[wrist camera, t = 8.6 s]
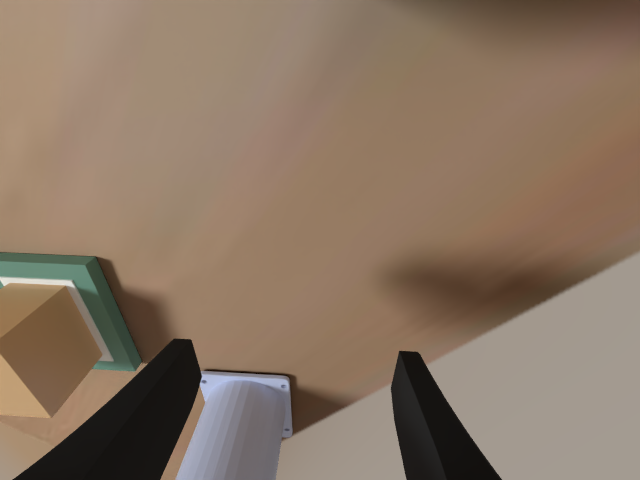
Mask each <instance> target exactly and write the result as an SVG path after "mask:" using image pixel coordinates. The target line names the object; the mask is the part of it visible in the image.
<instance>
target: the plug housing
mask: <svg viewBox="0 0 640 480" xmlns="http://www.w3.org/2000/svg"><path fill="white" fill-rule="evenodd" d="M102 355H103V354H102V352H101V351H100V349H99V347H98V345H97V343H96V341H95V339H94V338H93V336H92V334H91V332H90V330H89V328H88V326H87V324H86V323H85V321H84V319H83V317H82V315H81V313H80V311H79V310H78V308H77V306H76V304H75V302H74V300H73V298H72V296H71V295H70V293H69V291H68V289H67V287H66V285H46V284H25V283H9V284H7V285H6V286H4V287H3V288H1V289H0V415H11V416H27V417H42V418H52V417H53V416H54V415H55V413H56V412H57V411H58V410H59V408H60V407H61V406H62V405H63V403H64V402H65V401H66V400H67V399H68V397H69V396H70V395H71V394H72V392H73V391H74V390H75V389H76V387H77V386H78V385H79V384H80V383H81V381H82V380H83V379H84V378H85V376H86V375H87V374H88V373H89V371H90V370H91V369H92V368H93V367H94V365H95V364H96V363H97V362H98V360H99V359H100V358H101V357H102Z"/></svg>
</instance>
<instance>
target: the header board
mask: <svg viewBox="0 0 640 480" xmlns="http://www.w3.org/2000/svg"><path fill="white" fill-rule="evenodd" d="M9 283H25V284H46V285H66V287H67V289H68V291H69V293H70V295H71V296H72V298H73V300H74V302H75V304H76V306H77V308H78V310H79V311H80V313H81V315H82V317H83V319H84V321H85V323H86V324H87V326H88V328H89V330H90V332H91V334H92V336H93V338H94V339H95V341H96V343H97V345H98V347H99V349H100V351H101V352H102V354H103V355H102V357H101V358H100V359H99V360H98V362H97V363H96V364H95V365H94V367H93V368H92V369H102V370H119V371H136V370H137V368H138V366H139V365H140V363H141V362H142V360H141V358H140V356H139V354H138V351H137V349H136V347H135V345H134V342H133V340H132V338H131V335H130V333H129V331H128V329H127V326H126V324H125V322H124V320H123V317H122V315H121V313H120V311H119V308H118V306H117V304H116V302H115V299H114V297H113V295H112V292H111V290H110V288H109V286H108V283H107V281H106V279H105V277H104V274H103V272H102V270H101V268H100V265H99V263H98V261H97V259H96V257H91V256H69V255H46V254H24V253H1V252H0V289H1V288H3V287H4V286H6V285H7V284H9Z"/></svg>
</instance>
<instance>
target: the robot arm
mask: <svg viewBox="0 0 640 480" xmlns="http://www.w3.org/2000/svg"><path fill="white" fill-rule="evenodd" d="M199 385H200V386H201V390H202V393H203V396H204V399H205V406H204V408H203V411H202V413H201V416H200V418H199V421H198V423H197V426H196V428H195V431H194V434H193V436H192V439H191V441H190V444H189V446H188V449H187V451H186V454H185V456H184V459H183V462H182V464H181V467H180V469H179V472H178V474H177V477H176V479H175V480H276V473H277V466H278V460H279V453H280V447H281V440H282V437H287V438H289V437H291V436H292V433H293V429H292V411H291V394H290V379H289V378H288V377H287V376H282V375H265V374H248V373H230V372H213V371H200V367H199V364H198V361H197V357H196V354H195V351H194V347H193V344H192V340H190V339H173V340H172V341H171V342H170V343H169V344H168V345H167V346H166V347H165V348H164V349H163V350H162V351H161V352H160V353H159V354H158V355H157V356H156V357H155V358H154V359H153V360H152V361H151V362H149V363H148V364H147V365H146V366H145V367H144V368H143V369H142V370H141V371H140V372H139V373H138V374H137V375H136V376H135V377H134V378H133V379H132V380H131V381H130V382H129V383H128V384H127V385H125V386H124V387H123V388H122V389H121V390H120V391H119V392H118V393H117V394H116V395H115V396H114V397H113V398H112V399H111V400H109V401H108V402H107V403H106V404H105V405H104V406H103V407H102V408H100V409H99V410H98V411H97V412H96V413H95V414H94V415H92V416H91V417H90V418H89V419H88V420H87V421H86V422H85V423H83V424H82V425H81V426H80V427H79V428H78V429H76V430H75V431H74V432H73V433H72V434H70V435H69V436H68V437H67V438H66V439H64V440H63V441H62V442H61V443H60V444H58V445H57V446H56V447H55V448H53V449H52V450H51V451H50V452H48V453H47V454H46V455H45V456H43V457H42V458H41V459H39V460H38V461H37V462H36V463H34V464H33V465H32V466H30V467H29V468H28V469H27V470H25V471H24V472H22V473H21V474H20V475H18V476H17V477H16V478H14V479H13V480H160V479H161V476H162V474H163V472H164V470H165V468H166V465H167V463H168V461H169V459H170V456H171V454H172V452H173V450H174V448H175V445H176V443H177V441H178V439H179V436H180V434H181V432H182V430H183V427H184V425H185V423H186V421H187V418H188V416H189V414H190V412H191V409H192V407H193V404H194V401H195V398H196V395H197V392H198V389H199ZM391 393H392V403H393V411H394V421H395V426H396V431H397V436H398V441H399V446H400V450H401V455H402V459H403V465H404V470H405V474H406V479H407V480H502V479H501V478H500V476H499V475H498V474H497V473H496V471H495V470H494V468H493V467H492V466H491V465H490V463H489V462H488V460H487V459H486V458H485V456H484V455H483V454H482V452H481V451H480V449H479V448H478V447H477V445H476V444H475V442H474V441H473V439H472V438H471V437H470V435H469V434H468V432H467V431H466V429H465V428H464V427H463V425H462V423H461V422H460V420H459V419H458V417H457V416H456V414H455V413H454V411H453V410H452V408H451V407H450V405H449V403H448V402H447V400H446V399H445V397H444V396H443V394H442V392H441V390H440V389H439V387H438V385H437V384H436V382H435V380H434V379H433V377H432V375H431V374H430V372H429V370H428V368H427V366H426V365H425V363H424V361H423V359H422V357H421V355H420V354H419V353H418V352H410V351H399V355H398V359H397V363H396V368H395V372H394V377H393V381H392V385H391Z"/></svg>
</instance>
